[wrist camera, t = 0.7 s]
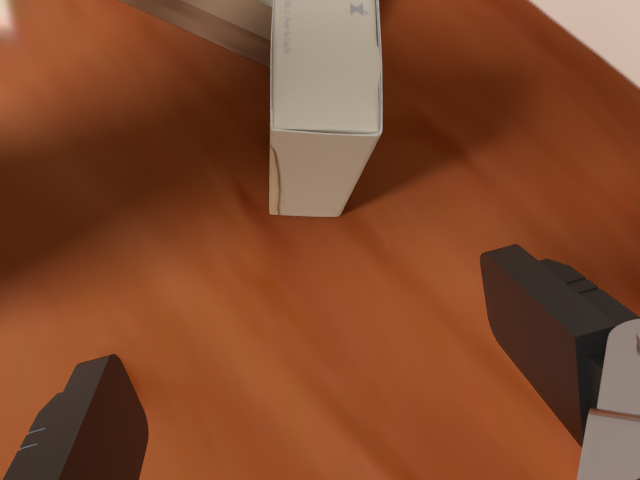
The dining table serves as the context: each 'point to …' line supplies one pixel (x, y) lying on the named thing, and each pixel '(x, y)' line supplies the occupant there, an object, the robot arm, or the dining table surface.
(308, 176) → the skincare box
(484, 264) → the robot arm
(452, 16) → the dining table surface
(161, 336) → the dining table surface
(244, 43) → the wooden compartment tray
